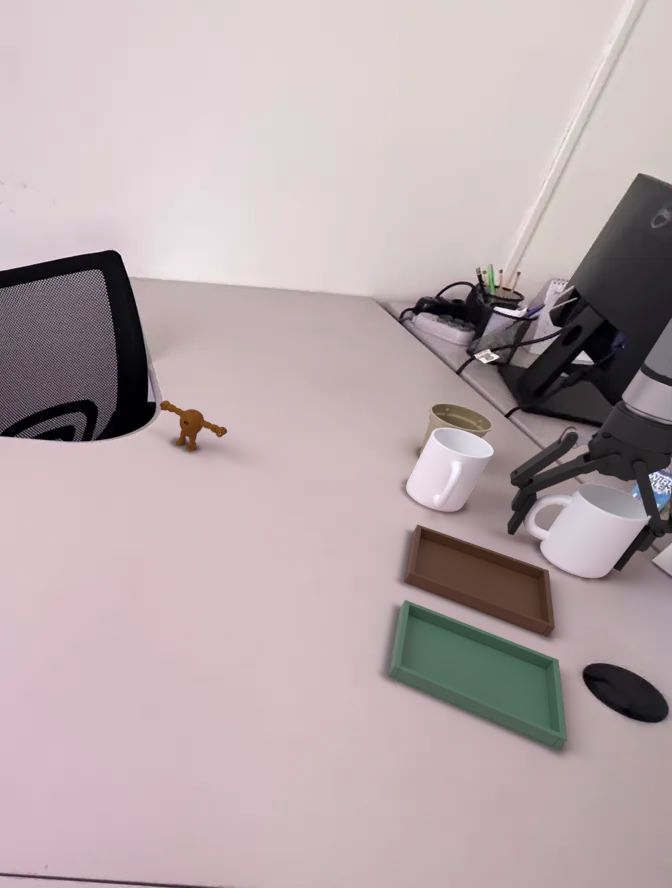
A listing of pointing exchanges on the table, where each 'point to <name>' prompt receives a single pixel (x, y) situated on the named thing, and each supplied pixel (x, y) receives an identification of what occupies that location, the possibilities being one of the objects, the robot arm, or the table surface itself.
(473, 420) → the flower pot
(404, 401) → the table surface
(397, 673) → the green tray
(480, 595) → the walnut tray
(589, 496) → the mug
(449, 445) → the cup
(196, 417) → the toy figurine
